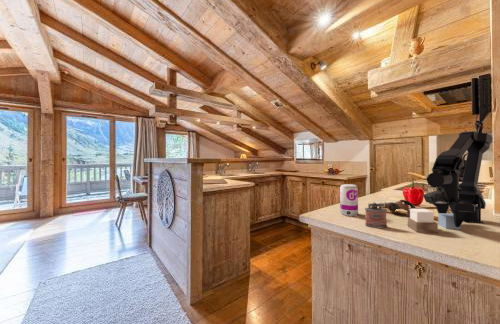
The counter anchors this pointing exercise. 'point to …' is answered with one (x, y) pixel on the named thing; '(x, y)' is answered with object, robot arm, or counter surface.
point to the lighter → (376, 215)
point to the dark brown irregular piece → (395, 205)
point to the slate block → (447, 221)
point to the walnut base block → (423, 226)
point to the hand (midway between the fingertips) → (449, 223)
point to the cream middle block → (422, 215)
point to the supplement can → (348, 200)
